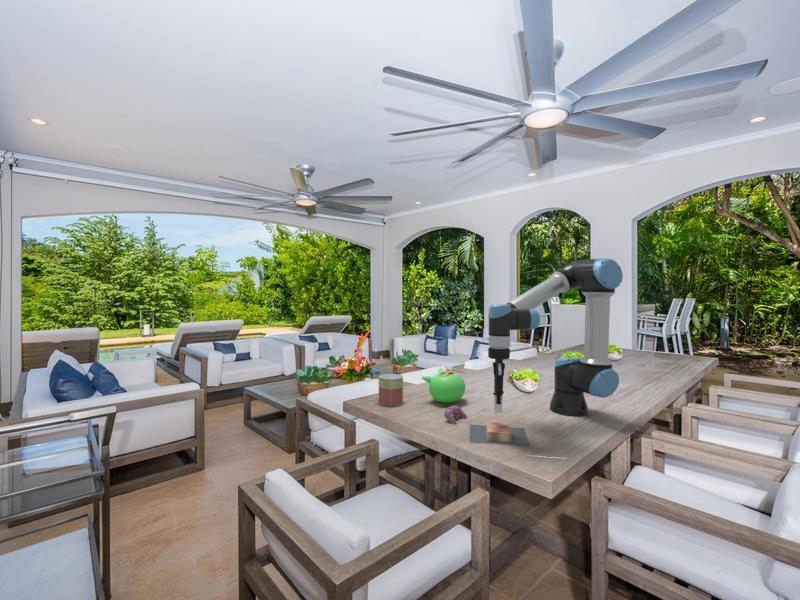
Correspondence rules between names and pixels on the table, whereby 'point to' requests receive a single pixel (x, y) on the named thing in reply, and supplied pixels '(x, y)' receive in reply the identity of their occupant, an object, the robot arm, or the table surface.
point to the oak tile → (498, 432)
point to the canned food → (390, 389)
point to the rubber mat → (480, 436)
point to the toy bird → (446, 386)
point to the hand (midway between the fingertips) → (498, 412)
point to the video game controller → (454, 414)
